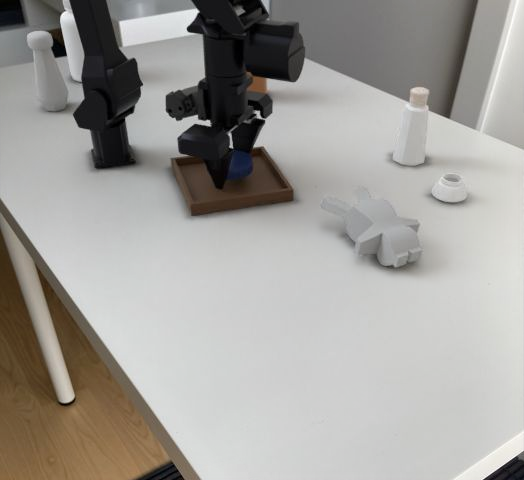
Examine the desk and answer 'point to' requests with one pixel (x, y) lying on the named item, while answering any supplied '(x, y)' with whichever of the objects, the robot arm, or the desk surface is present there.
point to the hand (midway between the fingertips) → (229, 178)
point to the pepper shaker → (413, 130)
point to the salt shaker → (47, 72)
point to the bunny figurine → (377, 228)
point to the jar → (258, 84)
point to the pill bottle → (72, 42)
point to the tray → (231, 185)
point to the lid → (239, 165)
